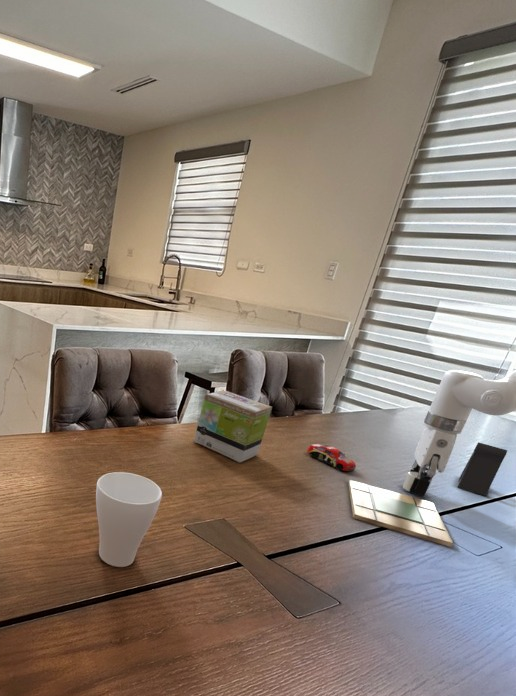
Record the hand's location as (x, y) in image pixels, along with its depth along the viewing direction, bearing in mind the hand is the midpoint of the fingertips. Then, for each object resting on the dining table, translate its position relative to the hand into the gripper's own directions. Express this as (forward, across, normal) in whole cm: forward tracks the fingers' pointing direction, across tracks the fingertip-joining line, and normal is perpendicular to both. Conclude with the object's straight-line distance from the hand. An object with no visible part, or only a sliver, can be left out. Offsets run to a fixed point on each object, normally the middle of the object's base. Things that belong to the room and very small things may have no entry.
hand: (414, 488), depth 119 cm
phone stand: (+1, +15, -16) cm, 22 cm away
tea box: (+1, -7, +46) cm, 47 cm away
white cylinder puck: (0, 0, 0) cm, 0 cm away
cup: (+1, -71, +54) cm, 89 cm away
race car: (+1, +5, +19) cm, 20 cm away
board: (+1, -17, +6) cm, 18 cm away
